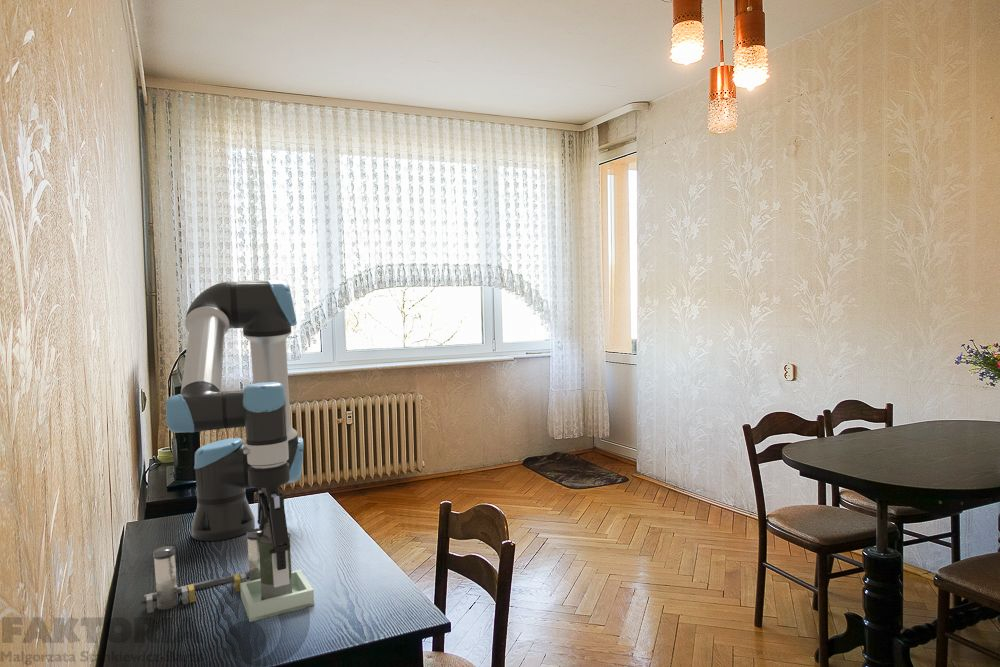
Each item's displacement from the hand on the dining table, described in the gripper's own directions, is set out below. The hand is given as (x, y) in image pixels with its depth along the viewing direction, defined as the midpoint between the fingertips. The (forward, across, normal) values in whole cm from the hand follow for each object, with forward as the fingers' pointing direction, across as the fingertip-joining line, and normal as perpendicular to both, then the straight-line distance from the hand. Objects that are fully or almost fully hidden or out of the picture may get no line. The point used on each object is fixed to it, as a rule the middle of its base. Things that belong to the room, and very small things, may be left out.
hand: (275, 573), depth 126 cm
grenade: (+5, 0, 0) cm, 5 cm away
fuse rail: (+6, -13, -10) cm, 17 cm away
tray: (+6, 0, 0) cm, 6 cm away
